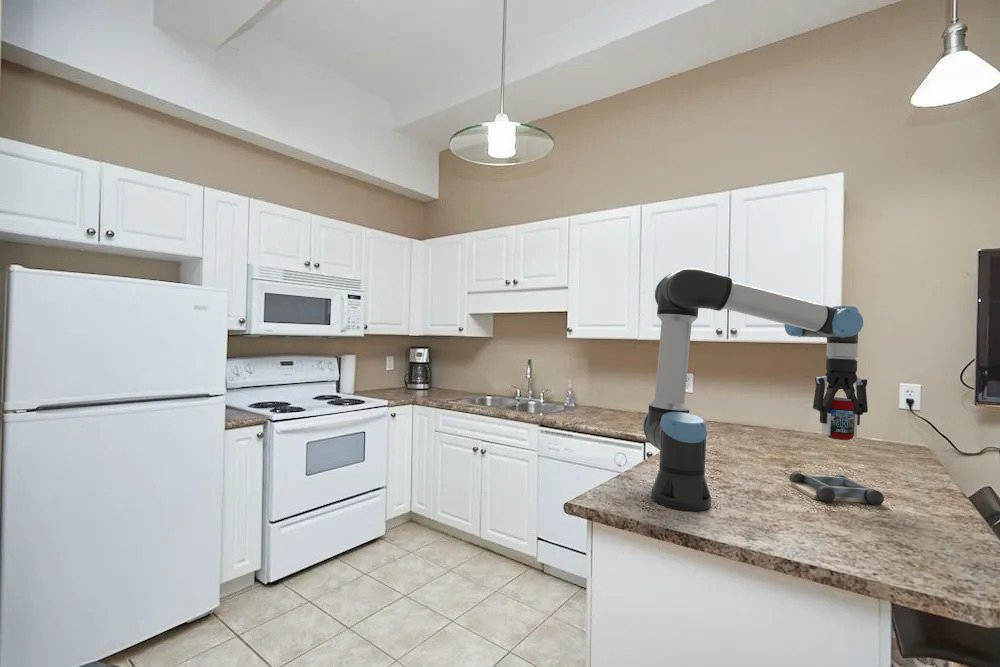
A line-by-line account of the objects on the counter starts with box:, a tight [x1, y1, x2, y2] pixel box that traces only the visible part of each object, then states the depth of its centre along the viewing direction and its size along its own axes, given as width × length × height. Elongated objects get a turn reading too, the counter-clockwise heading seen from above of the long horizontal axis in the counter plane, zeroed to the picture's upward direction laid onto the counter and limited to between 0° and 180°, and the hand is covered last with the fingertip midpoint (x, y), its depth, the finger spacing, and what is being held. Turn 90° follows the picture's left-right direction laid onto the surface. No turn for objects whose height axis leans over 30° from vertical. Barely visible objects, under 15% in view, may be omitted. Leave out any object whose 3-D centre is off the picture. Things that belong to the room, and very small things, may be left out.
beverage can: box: [826, 396, 854, 441], centre depth 139 cm, size 7×7×12 cm
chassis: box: [789, 471, 885, 506], centre depth 139 cm, size 18×16×4 cm
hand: (839, 435), depth 139 cm, fingers closed on beverage can, 7 cm apart
